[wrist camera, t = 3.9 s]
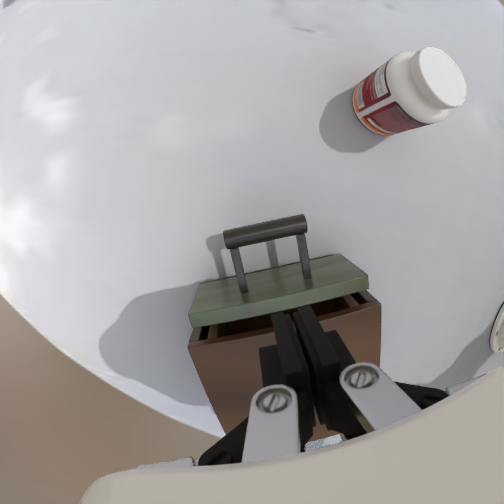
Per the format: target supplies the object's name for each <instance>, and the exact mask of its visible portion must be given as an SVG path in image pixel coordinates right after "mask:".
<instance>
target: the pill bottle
mask: <svg viewBox="0 0 504 504" xmlns="http://www.w3.org/2000/svg"><path fill="white" fill-rule="evenodd" d="M465 98H466V84H465V80H464V77H463V75H462V73H461V71H460V69H459V68H458V66H457V65H456V63H455V62H454V61H453V60H452V59H451V57H449V56H448V55H447V54H446V53H445V52H443V51H442V50H440V49H437V48H435V47H425V48H423V49H421V50H420V51H418V52H410V51H406V52H401V53H398V54H397V55H395V56H394V57H392V58H391V59H390V60H388V61H387V62H386V63H384V64H383V65H382V66H381V67H379V68H378V69H377V70H375V71H374V72H373V73H372V74H370V75H369V76H368V77H366V78H365V79H364V80H363V81H361V82H360V83H359V84H358V85H357V87H356V88H355V90H354V93H353V107H354V110H355V113H356V115H357V117H358V118H359V120H360V121H361V122H362V123H363V124H364V125H365V126H366V127H367V128H368V129H369V130H371V131H373V132H374V133H377V134H380V135H393V134H396V133H400V132H403V131H407V130H410V129H414V128H418V127H422V126H425V125H429V124H433V123H436V122H439V121H441V120H443V119H444V118H445V117H446V116H447V115H448V113H449V111H450V109H451V108H455V107H458V106H460V105H462V104H463V102H464V101H465Z"/></svg>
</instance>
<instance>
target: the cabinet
mask: <svg viewBox="0 0 504 504" xmlns="http://www.w3.org/2000/svg"><path fill="white" fill-rule="evenodd" d="M350 295H351V296H352V297H353V298H354V299H355V300H356V302H357V303H358V304H359V305H358V306H355V307H351V308H348V309H344V310H340V311H337V312H333V313H329V314H325V315H321V316H317V319H318V321H319V323H320V324H321V326H322V328H323V330H324V332H328V331H332V330H336V331H337V332H338V334H339V335H340V337H341V339H342V340H343V342H344V344H345V345H346V347H347V348H348V350H349V352H350V353H351V355H352V357H353V358H354V360H355V362H356V363H361V362H367V363H372V364H375V365H377V366H378V367H380V349H381V303H380V302H379V301H378V300H376V299H375V298H374V297H373V296H372V295H371V294H370V293H369V292H368V291H367V290H363V291H360V292H356V293H352V294H350ZM292 323H293V326H294V329H295V324H294V322H292ZM209 328H210V325H209V326H203V327H197V328H193V330H192V334H191V337H190V340H189V344H188V347H187V348H188V350H189V353H190V356H191V358H192V360H193V363H194V365H195V368H196V370H197V373H198V375H199V377H200V380H201V382H202V384H203V387H204V389H205V391H206V393H207V396H208V398H209V400H210V402H211V405H212V407H213V409H214V411H215V413H216V415H217V417H218V419H219V422H220V424H221V426H222V428H223V430H224V432H225V434H226V435H227V434H228V433H229V432H230V431H232V430H233V429H234V428H235V427H236V426H237V425H239V424H240V423H241V422H242V421H243V420H244V419H245V418H247V417H248V416H249V412H250V406H251V401H252V398H253V396H254V395H255V394H256V392H258V391H259V390H260V389H262V388H263V383H262V374H261V366H260V357H259V348H260V347H265V346H270V345H275V344H277V343H276V338H275V333H274V329H273V327H270V328H265V329H260V330H255V331H250V332H245V333H240V334H235V335H229V336H224V337H218V338H212V339H207V338H208V333H209ZM295 331H296V330H295ZM314 411H315V420H316V426H315V427H313V434H314V435H313V436H312V437H311V438H310V439H309V441H308V442H310V441H314V440H318V439H322V438H326V437H329V436H333V435H336V434H340V433H339V432H336V431H333V430H330V431H328V430H327V427H326V424H323V425H320V423H319V420H318V417H317V414H316V410H315V407H314Z"/></svg>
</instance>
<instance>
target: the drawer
mask: <svg viewBox="0 0 504 504" xmlns="http://www.w3.org/2000/svg"><path fill="white" fill-rule="evenodd" d="M304 233H307V222H306V219H305V216H304V215H303V214H301V215H296V216H291V217H286V218H281V219H276V220H271V221H267V222H262V223H257V224H253V225H248V226H243V227H239V228H234V229H230V230H225V231H223V235H224V241H225V245H226V248H227V249H230V252H231V256H232V260H233V264H234V268H235V272H236V277H232V278H227V279H222V280H217V281H212V282H207V283H202V284H200V285H199V288H198V290H197V293H196V295H195V298H194V301H193V303H192V306H191V308H190V311H189V314H188V316H189V319H190V322H191V325H192V327H193V328H197V327H203V326H209V325H210V328H209V333H208V338H207V339H212V338H218V337H224V336H229V335H235V334H240V333H245V332H250V331H255V330H260V329H265V328H270V327H273V324H272V319H271V314H275V313H280V312H284V315H286V314H289V315H290V318H291V320H292V322H294V318H293V313H295V312H297V308H301V307H306V306H311V308H312V310H313V312H314V314H315V315H316V317H317V316H321V315H325V314H329V313H333V312H337V311H340V310H344V309H348V308H351V307H355V306H358V305H359V304H358V303H357V302H356V300H355V299H354V298H353V297H352V296H351V295H350V294H352V293H356V292H360V291H363V290H367V289H369V284H368V275H367V274H366V273H365V272H364V271H362V270H361V269H360V268H358V267H357V266H356V265H355V264H353V263H352V262H351V261H349V260H348V259H347V258H345V257H344V256H343V255H341V254H336V255H331V256H327V257H323V258H318V259H314V260H310V261H309V256H308V250H307V244H306V238H305V234H304ZM293 235H296V239H297V244H298V250H299V256H300V262H301V263H296V264H292V265H287V266H283V267H278V268H274V269H269V270H264V271H260V272H255V273H250V274H246V275H245V274H244V270H243V265H242V261H241V257H240V252H239V248H238V247H242V246H246V245H251V244H256V243H260V242H265V241H270V240H274V239H279V238H284V237H288V236H293Z"/></svg>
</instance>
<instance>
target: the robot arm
mask: <svg viewBox="0 0 504 504" xmlns="http://www.w3.org/2000/svg"><path fill="white" fill-rule="evenodd" d="M293 318H294V324H295V329H294V326H293V323H292V320H291V318H290V315H289V314H286V315H284V312H280V313H275V314H271V319H272V324H273V329H274V333H275V338H276V343H277V344H275V345H270V346H265V347H260V348H259V357H260V366H261V374H262V383H263V388H262V389H260V390H259V391H258V392H256V394H255V395H254V396H253V398H252V401H251V406H250V412H249V416H248V417H247V418H245V419H244V420H243V421H242V422H241V423H240V424H239V425H237V426H236V427H235V428H234V429H233V430H232V431H230V432H229V433H228V434H227V435H226V436H224V437H223V438H222V439H221V440H219V441H218V442H217V443H216V444H214V445H213V446H212V447H211V448H209V449H208V450H207V451H205V452H204V453H203V455H201V457H200V458H197V459H193V458H192V457H188V458H182V459H177V460H172V461H166V462H159V463H152V464H145V465H140V466H137V467H135V468H133V469H132V470H125V471H121V472H116V473H112V474H109V475H106V476H103V477H101V478H99V479H97V480H96V481H94V482H93V483H92V484H91V485H90V486H89V488H88V489H87V490H86V492H85V493H84V495H83V497H82V499H81V501H80V503H79V504H504V364H503V365H501V366H499V367H498V368H496V369H494V370H492V371H490V372H489V373H486V374H483V375H481V376H478V377H476V378H473V379H470V380H468V381H465V382H462V383H459V384H456V385H453V386H450V387H447V389H446V391H442V390H440V389H436V388H429V387H423V386H416V385H410V384H405V383H399V382H394V381H393V380H392V379H391V378H390V377H389V376H388V375H387V374H386V373H385V372H384V371H383V370H382V369H381V368H380V367H378V366H377V365H375V364H372V363H367V362H361V363H356V362H355V360H354V358H353V357H352V355H351V353H350V352H349V350H348V348H347V347H346V345H345V344H344V342H343V340H342V339H341V337H340V335H339V334H338V332H337V331H336V330H332V331H328V332H324V330H323V328H322V326H321V324H320V323H319V321H318V319H317V317H316V315H315V314H314V312H313V310H312V308H311V306H306V307H301V308H297V312H295V313H293ZM295 330H296V331H295ZM490 345H491V348H492V350H493V351H495V352H496V353H500V352H502V351H504V304H503V306H502V308H501V309H500V311H499V313H498V316H497V318H496V320H495V323H494V326H493V329H492V333H491V338H490ZM314 407H315V410H316V414H317V417H318V420H319V423H320V425H323V424H326V427H327V430H328V431H330V430H333V431H336V432H339V433H340V436H341V439H342V441H343V442H340V443H337V444H333V445H330V446H326V447H323V448H319V449H315V450H311V451H307V452H306V446H305V444H306V443H307V442H308V441H309V439H310V438H311V437H312V436H313V435H314V434H313V427H315V426H316V420H315V411H314Z"/></svg>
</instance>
